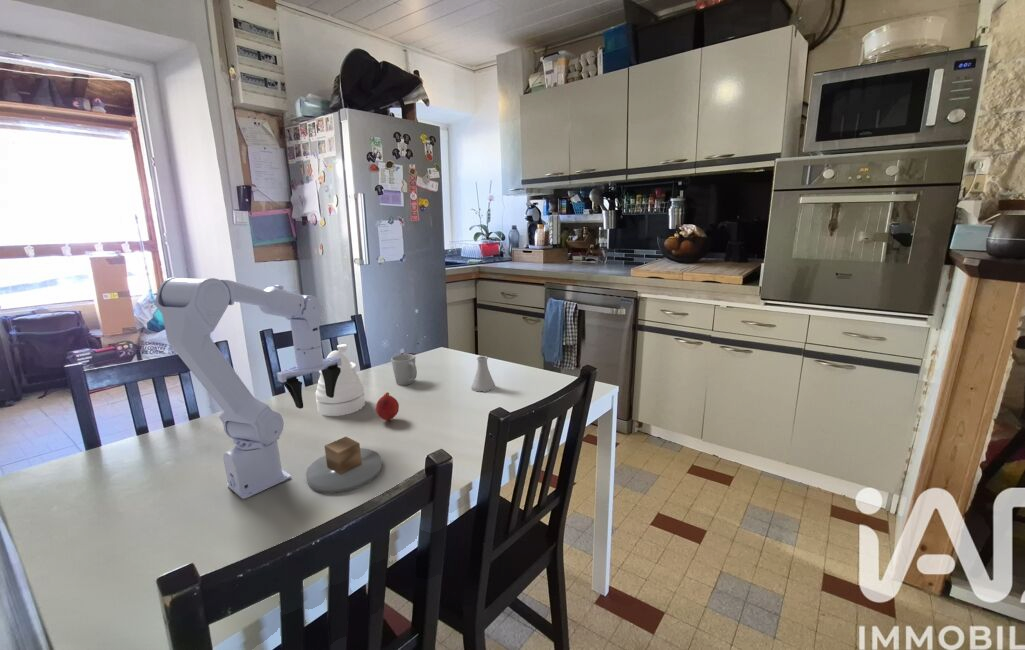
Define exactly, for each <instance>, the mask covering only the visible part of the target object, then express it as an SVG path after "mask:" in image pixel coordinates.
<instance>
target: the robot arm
mask: <svg viewBox="0 0 1025 650" xmlns="http://www.w3.org/2000/svg"><path fill="white" fill-rule="evenodd" d="M235 303H241V304H247V305H252V306H256V307H257V306H258V308H259V310H260V311H261V312H262V313H264V314H266V315H269V316H270V315H271V316H276V317H281V318H282V317H283V318H285V319H286V320H287V321H289V322H290V327H291V334H292V341H293V350H294V356H295V357H294V358H295V363H296V365H294V366H292V367H289V368H287V369H285V370H281V371H279V372H276V376H277V381H278V382H280V383H281V384H282V385H283V386H284V387H285V388H286V390H287V391H288V393H289V394H290V396H291V398H292V401H293V402H294V404H295V407H296V408H297V409H300V410H301V409H304V401H303V394H302V392H303V391H302V389H303V388H302V387H303V382H302V381H301V380H300V381H299V378H298V377H304V376H306V375H309V374H313V373H316V372H319V371H321V372H322V375H323V378H324V382H325V390H326V395H327V396H328V397H330V398H333V397H334V391H335V385H336V382H337V379H338V376H339V374H340V372H341V369H340V368H339V367H338V366H340V365H342V362H341V358H340V357H337V356H336V357H331V358H327V357H326V358H324V357H323V349H322V342H321V341H322V340H321V332H320V326H321V324H322V322H321V317H322V314H323V310H324V306H323V305H322V303H321V302H320V300H319V299H318V297H316V296H315V295H311V294H309V295H308V294H301V293H300V291H299V290H287V289H284V285H280V284H273V286H268V287H265V288H264V289H260V288H258V287H255V286H250V285H246V284H243V283H241V282H236V281H233V280H231V279H218V278H215V277H214V278H213V277H210V278H189V277H187V278H185V277H179V276H172V277H169V278H166V279H165V280H164V281H162V283H161V284H160V285H159V288H158V291H157V294H156V296H155V299H154V305H155V307H156V308H157V309H158V311H159V312H160V313H161V315H162V321H163V326H164V329H165V335H166V340H167V342H168V344H169V345H170V347H171V348H172V350H174V351H175V353H176V354H177V356H178V357H179V358H180V359H181V360H182V362H183V363H184V364H185V365H186V367H187V368H188V370H190V372H191V373H192V374H193V376H194V377H195V378H196V379H197V380H198V381H199V383H200V384H201V385H202V387H204V389H205V390H206V391H207V392H208V394H209V395H210V396H211V397H212V399H213V401H215V402H216V403H217V405H218V406H219V407H220V409H221V410H222V411H221V412H220V414H219V416H218V417H219V418H218V419H219V420H220V421H221V422H222V424H223V431H224V433H225V435H226V436H227V437H229V438H230V439H232V441H233V444H234V445H235V446H234V447H232V448H231V449H230V450H228V451H226V452H224V453H223V465H224V469H225V475H226V480H227V483H226V486H227V487H228V488H229V489H230V490H231V491H233V492H234V493H235V494H236V495H238V496H239V497H240V498H241V499H243V500H245V499H248V498H249V497H252V496H254V495H256V494H258V493H260V492H263V491H266V490H267V489H269V488H271V487H273V486H276V485H279V484H280V483H282V482H285V481H287V480H289V479H290V478H292V475H291V474H289V473H288V472H286V471H285V470H283V469H282V468H283V467H282V461H281V454H280V450H279V444H278V440H279V439H280V436H281V435H282V433H283V431H284V423H285V422H284V417H283V416H282V415H281V413H280V412H277V411H275V410H273V409H272V408H271V407H270V405H268V404H266V403H265V402H263V401H261V400H260V399H257V398H255V396H253V394H252V393H251V391H250V390H249V389H248V387H247V386H246V384H245V383H244V381H243V380H242V379H241V377H240V376H239V375H238V374H237V372H236V371H235V369H234V368H233V367H232V365H231V364H230V362H229V361H228V359H226V357H225V355H224V354H223V353H222V352H221V351H220V349H219V347H218V346H217V345H216V343H215V342H214V341H213V339H212V338H211V334H212V333H213V332H214V330H215V329H216V327H217V325H218V324H219V323H220V321H221V319H222V317H223V315H224V314H225V312H226V311H227V309H228V307H229V306H233V305H235Z"/></svg>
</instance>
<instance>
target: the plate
mask: <svg viewBox="0 0 1025 650" xmlns="http://www.w3.org/2000/svg"><path fill="white" fill-rule="evenodd" d="M360 453H361V462H362V465H360V466H358V467H356V468H354V469H352V470H350V471H348V472H346V473H344V474H341V475H340V474H338V473H336V472H335V471H333V470H331V469H330V468H328V467H327V461H326V454H325V455H322V456H320V457H318V459H316V460H314V461H313V462H312V463H311V464H310V465H309V466H308V467H307V469H306V472H305V477H306V484H307V485H308V487H309V488H311V489H312V490H313V491H316V492H319V493H325V494H337V493H344V492H349V491H353V490H355V489H356V490H357V489H359V488H361V487H363V486H365V485H366V484H368V483H370V482H372V481H373V480H374V479H375V478H377V476H379V475H380V473H381V471H382V468H383V466H382V465H383V464H382V458H381V455H380V454H379V453H378V452H377V451H375V450H372V449H369V448H362V447H360Z"/></svg>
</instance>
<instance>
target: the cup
mask: <svg viewBox="0 0 1025 650" xmlns="http://www.w3.org/2000/svg"><path fill="white" fill-rule="evenodd" d="M390 361H391V366H392V371H393V375H394V379H395V382H396V384H397V385H398V386H409V385H412V384H413V383H414V382H415V380H416V378H417V373H418V372H417V370H418V369H417V366H416V355H415V354H411V353H402V354H397V355H394V356H392V357H391V359H390Z"/></svg>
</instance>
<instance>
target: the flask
mask: <svg viewBox="0 0 1025 650" xmlns="http://www.w3.org/2000/svg"><path fill="white" fill-rule="evenodd" d="M476 360H477V368H476V373H475V376H474V379H473V382H472V384H471V387H470V389H471V388H472V389H471V390H473V389H474V390H473V391H475V390H476V391H475V392H480V391H483V392H482V393H487V392H489V391H488V390H490V391H492V389H493V388H494V387H495V386H496V383H495V381H494V379H493V377H492V375H491V373H490V370H489V366H488V356H485V355H480V356H478V357H476ZM495 388H496V387H495ZM495 388H494V389H495ZM494 389H493V390H494Z"/></svg>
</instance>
